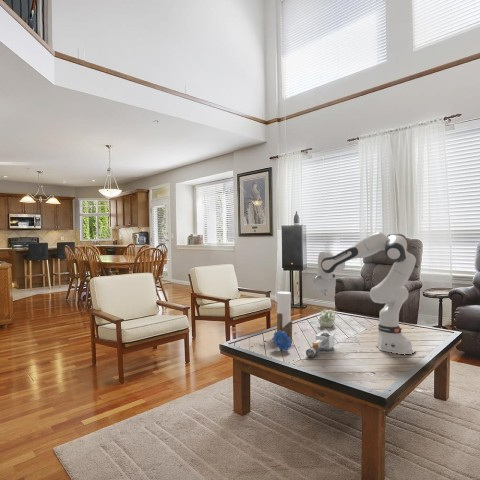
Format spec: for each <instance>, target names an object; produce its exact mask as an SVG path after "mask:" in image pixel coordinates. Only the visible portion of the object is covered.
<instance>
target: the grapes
mask: <svg viewBox="0 0 480 480" xmlns="http://www.w3.org/2000/svg"><path fill="white" fill-rule="evenodd" d="M272 340H273V342H274V346H275V347H277V348H279V350H280V351H288V350H289V348H291V347H292V343H290V341H291V339H290V337H287V333H285V332H284V333H283V332H282V331H280V330H279V331H278V333H277V331H276V332H274V333H273V337H272Z"/></svg>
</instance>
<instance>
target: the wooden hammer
mask: <svg viewBox="0 0 480 480" xmlns="http://www.w3.org/2000/svg"><path fill="white" fill-rule="evenodd" d="M279 330H280V331H283V332H285V333H287V337H290V339H291V341H290V343H291V344H293V321H292V320H291V322H289V323H288V324H287V325H286V326H285V327H284V328H282V313H277V312H276V332H277V333H278V331H279Z"/></svg>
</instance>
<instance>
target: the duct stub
mask: <svg viewBox="0 0 480 480" xmlns="http://www.w3.org/2000/svg"><path fill="white" fill-rule="evenodd" d="M305 355H306V356H307V358H309V359H312V358H314V357H315V356H318V355H319V349H317V348H316V347H313V346H311V347H310V348H308V349H306V351H305Z"/></svg>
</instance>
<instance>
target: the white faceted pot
mask: <svg viewBox="0 0 480 480" xmlns="http://www.w3.org/2000/svg"><path fill="white" fill-rule="evenodd" d="M321 333H322V336H325V337H329V334H330V333H329V332H321ZM334 347H335V346H333V347H332V348H330V349H324V348H319V349H318V351H325V352H331V351H334V349H335V348H334Z"/></svg>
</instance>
